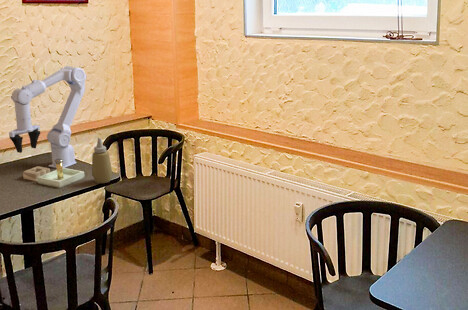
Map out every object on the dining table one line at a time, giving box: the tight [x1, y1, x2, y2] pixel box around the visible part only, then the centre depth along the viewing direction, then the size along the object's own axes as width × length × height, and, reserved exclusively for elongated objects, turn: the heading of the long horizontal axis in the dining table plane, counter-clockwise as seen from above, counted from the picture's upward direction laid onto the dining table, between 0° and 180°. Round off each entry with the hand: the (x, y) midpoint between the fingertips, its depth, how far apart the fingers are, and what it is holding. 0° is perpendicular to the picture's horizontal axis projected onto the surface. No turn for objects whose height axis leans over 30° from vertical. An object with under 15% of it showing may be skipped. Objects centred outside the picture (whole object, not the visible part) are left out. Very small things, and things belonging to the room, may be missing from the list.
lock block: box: [22, 165, 51, 182], centre depth 230 cm, size 8×7×3 cm
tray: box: [36, 167, 86, 189], centre depth 226 cm, size 14×12×2 cm
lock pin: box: [55, 159, 64, 180], centre depth 225 cm, size 3×3×8 cm
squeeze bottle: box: [91, 137, 113, 184], centre depth 222 cm, size 8×8×18 cm
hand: (26, 150), depth 231 cm, fingers open, 7 cm apart
